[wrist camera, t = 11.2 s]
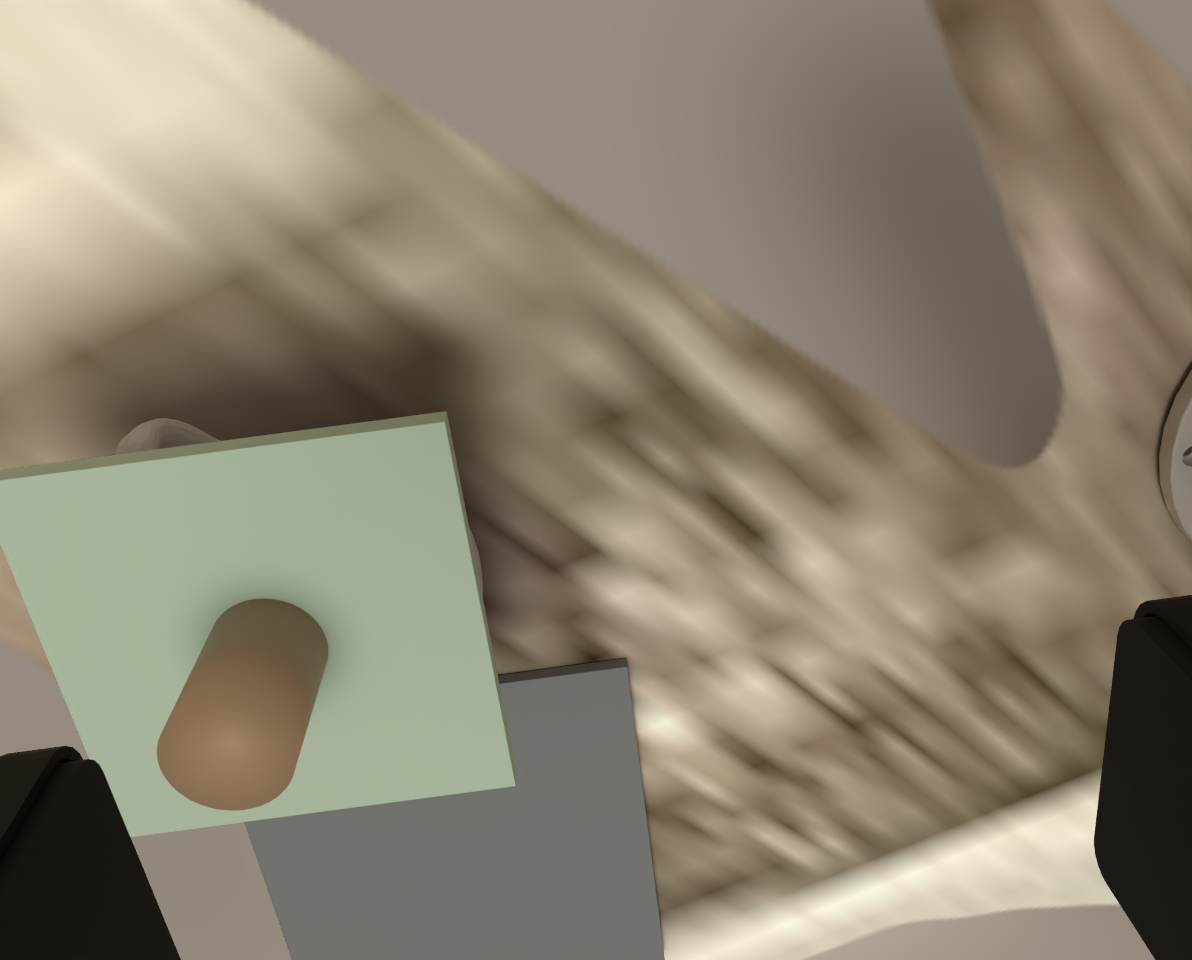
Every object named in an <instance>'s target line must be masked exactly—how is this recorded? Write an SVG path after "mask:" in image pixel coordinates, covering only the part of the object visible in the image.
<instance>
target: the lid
mask: <svg viewBox="0 0 1192 960" xmlns="http://www.w3.org/2000/svg"><path fill="white" fill-rule="evenodd" d="M0 544H1V547H2V549H3V552H4V554H5V556H6V559H7V561H8V564H9V566H10V568H11V571H12V573H13V576H14V578H15V580H16V583H17V585H18V588H19V590H20V593H21V595H22V597H23V600H24V602H25V605H26V607H27V609H28V612H29V614H30V617H31V619H32V622H33V624H34V626H35V629H36V631H37V634H38V636H39V638H40V641H41V643H42V646H43V648H44V650H45V653H46V655H47V658H48V660H49V663H50V665H51V667H52V670H53V672H54V675H55V677H56V679H57V682H58V684H59V687H60V689H61V692H62V694H63V696H64V699H65V701H66V704H67V706H68V708H69V711H70V713H71V716H72V718H73V720H74V723H75V725H76V728H77V730H78V733H79V735H80V737H81V740H82V742H83V745H84V747H85V749H86V752H87V754H88V757H89V759H91V760H95V761H96V762H97V763H98V764H99V765H100V767H101V768H102V770H103V772H104V775H105V777H106V779H107V782H108V784H109V787H110V789H111V792H112V794H113V796H114V799H115V801H116V804H117V806H118V809H119V811H120V813H121V816H122V818H123V821H124V823H125V826H126V828H127V830H128V833H129V835H130V837H134V836H142V835H149V834H157V833H165V832H172V831H179V830H187V829H195V828H202V827H210V826H218V825H225V824H233V823H239V822H248V821H255V820H263V819H271V818H278V817H286V816H293V815H301V814H308V813H316V812H323V811H331V810H338V809H346V808H354V807H361V806H369V805H376V804H384V803H391V802H399V801H406V800H414V799H421V798H429V797H437V796H444V795H452V794H459V793H467V792H474V791H482V790H489V789H497V788H504V787H512V786H516V768H515V763H514V757H513V752H512V747H511V742H510V737H509V732H508V726H507V721H506V716H505V711H504V706H503V700H502V695H501V690H500V685H499V680H498V675H497V669H496V664H495V659H494V654H493V649H492V643H491V638H490V633H489V628H488V623H487V618H486V612H485V607H484V602H483V597H482V592H481V586H480V581H479V576H478V571H477V566H476V561H475V555H474V550H473V545H472V540H471V535H470V529H469V524H468V519H467V514H466V509H465V504H464V498H463V493H462V488H461V483H460V478H459V472H458V467H457V462H456V457H455V452H454V447H453V441H452V436H451V431H450V426H449V421H448V415H447V411H444V412H437V413H429V414H422V415H414V416H406V417H399V418H391V419H384V420H376V421H368V422H361V423H353V424H346V425H338V426H331V427H323V428H315V429H308V430H300V431H293V432H285V433H277V434H270V435H262V436H255V437H247V438H239V439H232V440H224V441H217V442H209V443H202V444H194V445H186V446H179V447H171V448H164V449H156V450H148V451H141V452H133V453H126V454H118V455H111V456H103V457H95V458H88V459H80V460H73V461H65V462H57V463H50V464H42V465H35V466H27V467H20V468H12V469H4V470H0Z"/></svg>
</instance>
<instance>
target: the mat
mask: <svg viewBox="0 0 1192 960" xmlns="http://www.w3.org/2000/svg"><path fill="white" fill-rule="evenodd" d="M498 680H499V685H500V690H501V695H502V700H503V706H504V711H505V716H506V721H507V726H508V732H509V737H510V742H511V747H512V752H513V757H514V763H515V768H516V786H512V787H504V788H497V789H489V790H482V791H474V792H467V793H459V794H452V795H444V796H437V797H429V798H421V799H414V800H406V801H399V802H391V803H384V804H376V805H369V806H361V807H354V808H346V809H338V810H331V811H323V812H316V813H308V814H301V815H293V816H286V817H278V818H271V819H263V820H255V821H248V822H244V823H245V825H246V828H247V831H248V834H249V837H250V840H251V843H252V845H253V848H254V851H255V854H256V857H257V860H258V863H259V866H260V869H261V871H262V875H263V877H264V880H265V883H266V886H267V889H268V892H269V895H270V898H271V900H272V903H273V906H274V909H275V912H276V915H277V918H278V921H279V924H280V926H281V929H282V932H283V935H284V938H285V941H286V944H287V946H288V950H289V952H290V955H291V958H292V960H665V958H664V950H663V943H662V935H661V927H660V919H659V911H658V904H657V896H656V888H655V880H654V872H653V865H652V857H651V849H650V841H649V833H648V826H647V818H646V810H645V802H644V794H643V787H642V779H641V771H640V763H639V755H638V748H637V740H636V732H635V724H634V716H633V709H632V701H631V693H630V685H629V677H628V670H627V662H626V658H624V659H617V660H609V661H602V662H594V663H587V664H579V665H572V666H564V667H557V668H549V669H542V670H534V671H527V672H520V673H512V674H505V675H498Z"/></svg>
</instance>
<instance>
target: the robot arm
mask: <svg viewBox="0 0 1192 960" xmlns="http://www.w3.org/2000/svg"><path fill="white" fill-rule="evenodd" d="M1159 466H1160V485H1161V488H1162V492H1163V496H1164V500H1165V503H1166V507H1167V509H1168V511H1169V513H1170V514H1171V516H1172V518H1173V520H1174V521H1175V523H1176V525H1177V527H1178V528H1179V530H1180V531H1181V532H1182V533H1183V534H1184V535H1185V536H1186V537H1187V538H1188V539H1189V540H1190V541H1191V542H1192V370H1191V371H1190V373H1189V375H1188V376H1187V378H1186V380H1185V382H1184V383H1183V385H1182V387H1181V389H1180V390H1179V392H1178V394H1177V395H1176V397H1175V400H1174V402H1173V405H1172V408H1171V410H1170V413H1169V416H1168V418H1167V421H1166V424H1165V426H1164V431H1163V437H1162V443H1161V448H1160V454H1159ZM1094 848H1095V855H1096V859H1097V862H1098V866H1099V869H1100V871H1101V874H1102V876H1103V878H1104V880H1105V882H1106V883H1107V885H1108V887H1109V888H1110V890H1111V891H1112V893H1113V894H1114V896H1115V897H1116V899H1117V901H1118V902H1119V904H1120V905H1121V907H1122V908H1123V910H1124V911H1125V913H1126V914H1127V916H1128V917H1129V919H1130V921H1131V922H1132V924H1133V925H1134V927H1135V928H1136V930H1137V931H1138V933H1139V935H1140V936H1141V938H1142V940H1143V941H1144V942H1145V944H1146V946H1147V947H1148V949H1149V950H1150V952H1151V954H1152V955H1153V957H1154V958H1155V960H1192V595H1188V596H1181V597H1173V598H1166V599H1158V600H1151V601H1146V602H1144V603H1142V604H1140V606H1139V607H1138V609H1137V610H1136V612H1135V616H1134V619H1131V620H1126V621H1124V622H1123V623H1122V624H1121V626H1120V627H1119V631H1118V636H1117V644H1116V653H1115V662H1114V670H1113V679H1112V688H1111V696H1110V705H1109V714H1108V722H1107V731H1106V740H1105V749H1104V757H1103V766H1102V775H1101V783H1100V792H1099V801H1098V809H1097V818H1096V827H1095V835H1094ZM0 960H181V959H180V957H179V954H178V952H177V949H176V947H175V945H174V942H173V940H172V937H171V935H170V932H169V930H168V928H167V925H166V923H165V921H164V918H163V916H162V913H161V911H160V908H159V906H158V903H157V901H156V899H155V896H154V894H153V891H152V889H151V886H150V884H149V882H148V879H147V877H146V874H145V872H144V869H143V867H142V864H141V862H140V860H139V857H138V855H137V852H136V850H135V847H134V845H133V843H132V840H131V838H130V835H129V833H128V830H127V828H126V826H125V823H124V821H123V818H122V816H121V813H120V811H119V809H118V806H117V804H116V801H115V799H114V796H113V794H112V792H111V789H110V787H109V784H108V782H107V779H106V777H105V775H104V772H103V770H102V768H101V767H100V765H99V764H98V763H97V762H96V761H95V760H91V759H86V760H83V759H82V757H81V755H80V753H78V752H77V751H76V750H75V749H74V748H73V747H68V746H62V747H54V748H47V749H39V750H32V751H25V752H17V753H9V754H5V755H3V756H0Z"/></svg>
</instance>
